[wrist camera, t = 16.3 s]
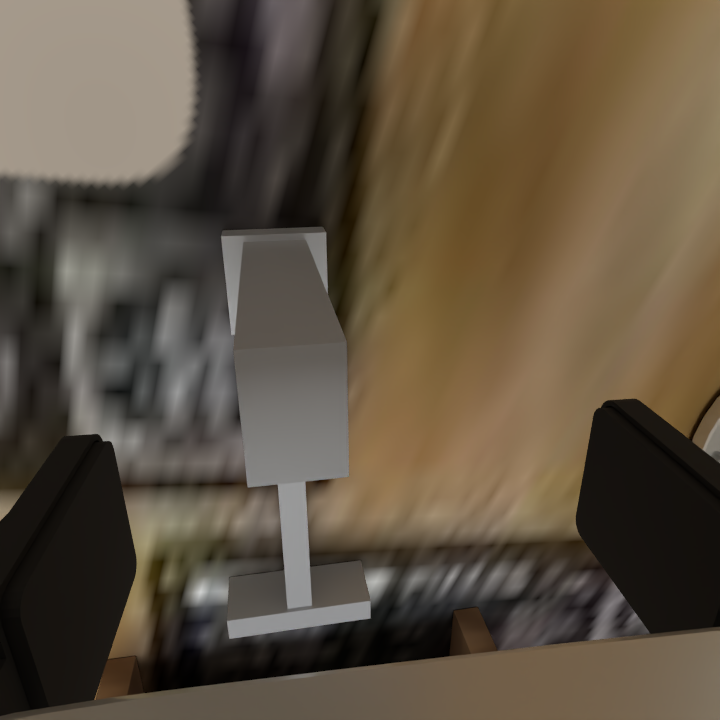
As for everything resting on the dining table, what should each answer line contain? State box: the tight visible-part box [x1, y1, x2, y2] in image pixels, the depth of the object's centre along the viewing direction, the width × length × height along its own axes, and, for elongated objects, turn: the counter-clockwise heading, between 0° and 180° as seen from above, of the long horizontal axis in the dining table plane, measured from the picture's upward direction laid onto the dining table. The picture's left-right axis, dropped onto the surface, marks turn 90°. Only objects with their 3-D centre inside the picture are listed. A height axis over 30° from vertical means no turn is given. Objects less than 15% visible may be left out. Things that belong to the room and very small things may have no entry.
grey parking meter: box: [221, 227, 370, 639], centre depth 21 cm, size 7×19×12 cm, turn 0°
